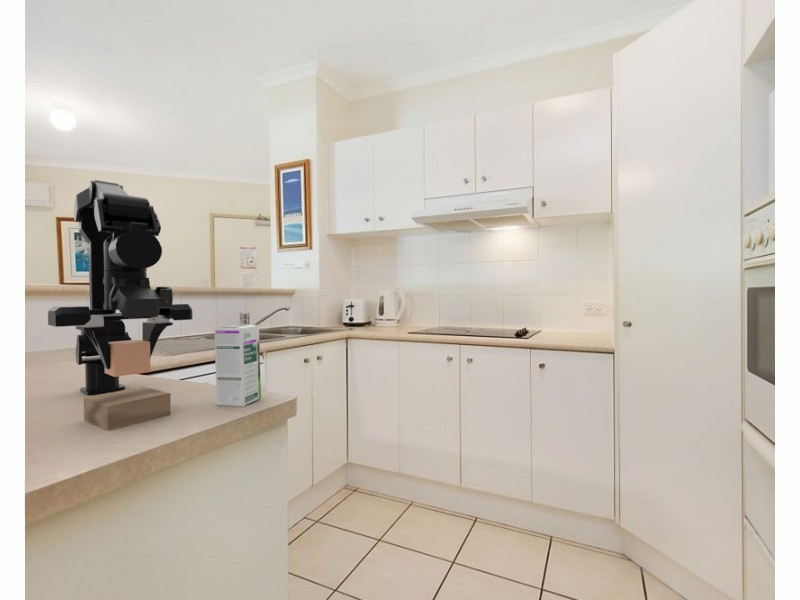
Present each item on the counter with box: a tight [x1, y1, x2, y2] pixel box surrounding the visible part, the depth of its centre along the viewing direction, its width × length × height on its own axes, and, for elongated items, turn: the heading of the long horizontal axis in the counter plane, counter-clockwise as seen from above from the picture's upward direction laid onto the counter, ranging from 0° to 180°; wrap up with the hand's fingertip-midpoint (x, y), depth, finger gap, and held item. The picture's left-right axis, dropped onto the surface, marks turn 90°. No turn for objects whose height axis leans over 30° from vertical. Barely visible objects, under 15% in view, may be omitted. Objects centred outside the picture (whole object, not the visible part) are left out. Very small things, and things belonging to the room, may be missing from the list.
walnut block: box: [83, 386, 172, 432], centre depth 64 cm, size 9×9×4 cm
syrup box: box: [213, 323, 262, 408], centre depth 73 cm, size 6×6×14 cm
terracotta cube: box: [105, 339, 151, 377], centre depth 64 cm, size 5×5×5 cm
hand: (127, 366), depth 64 cm, fingers closed on terracotta cube, 5 cm apart
